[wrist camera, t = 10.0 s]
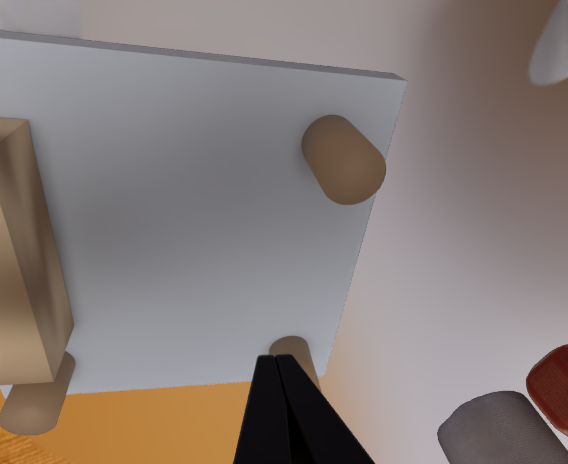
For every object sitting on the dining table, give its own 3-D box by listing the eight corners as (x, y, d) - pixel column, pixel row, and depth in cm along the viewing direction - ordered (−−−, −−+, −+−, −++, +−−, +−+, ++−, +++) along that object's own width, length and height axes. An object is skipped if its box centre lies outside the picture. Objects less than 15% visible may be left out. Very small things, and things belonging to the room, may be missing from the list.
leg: (-46, 115, 14) (-119, 156, 11) (27, 119, 15) (-23, 160, 12) (24, 327, 20) (-10, 395, 17) (74, 325, 21) (50, 391, 18)
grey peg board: (393, 73, 18) (450, 102, 14) (318, 357, 29) (338, 422, 25) (-121, 17, 14) (-262, 36, 10) (15, 376, 24) (-23, 459, 20)
